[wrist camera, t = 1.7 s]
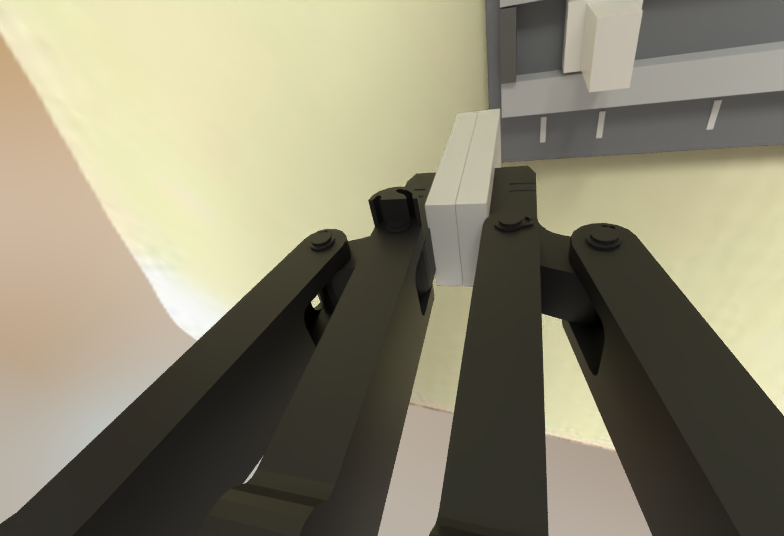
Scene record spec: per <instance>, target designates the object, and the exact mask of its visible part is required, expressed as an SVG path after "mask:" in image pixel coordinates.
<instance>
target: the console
mask: <svg viewBox="0 0 784 536" xmlns="http://www.w3.org/2000/svg"><path fill="white" fill-rule="evenodd" d="M642 11H643V13H642V19H641V25H640V31H639V37H638V42H637V48H636V54H635V60H634V65H633V71H632V77H631V83H630V88H625V89H615V90H606V91H597V92H589V91H588V88H587V85H586V83H585V80H584V77H583V74H582V71H577V72H569V73H563V69H562V55H563V40H564V26H565V12H566V0H486V28H487V56H488V84H489V110H491V109H500V131H501V162H513V161H528V160H544V159H559V158H575V157H591V156H606V155H622V154H637V153H653V152H669V151H684V150H700V149H715V148H731V147H747V146H762V145H778V144H784V0H643V4H642Z"/></svg>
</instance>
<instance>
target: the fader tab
mask: <svg viewBox="0 0 784 536" xmlns="http://www.w3.org/2000/svg"><path fill="white" fill-rule="evenodd" d="M642 4H643V0H566V12H565V26H564V40H563V55H562V69H563V73H569V72H577V71H582V74H583V77H584V80H585V83H586V85H587V88H588V91H589V92H597V91H606V90H615V89H625V88H630V83H631V77H632V71H633V65H634V60H635V54H636V48H637V42H638V37H639V31H640V25H641V19H642V13H643V11H642Z"/></svg>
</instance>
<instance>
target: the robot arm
mask: <svg viewBox="0 0 784 536" xmlns="http://www.w3.org/2000/svg"><path fill="white" fill-rule="evenodd" d="M368 201H369V205H370V209H371V213H372V217H373V220H374V224H375V228H374V230H373V232H372V234H371V236H369V237H365V238H362V239H357V240H352V241H348V240H347V237H346V235H345V234H344V233H343V231H340V230H337V229H325V230H320V231H318V232H316V233H314V234H311V235H310V236H308V237H307V238H306V239H304V240H303V241H302V242H301V243H300V244H299V245H298V246H297V247H296V248H295V249H294V250H293V251H292V252H291V253H289V254H288V255H287V256H286V257H285V258H284V259H283V260H282V261H281V262H280V263H279V264H278V265H277V266H276V267H275V268H274V269H273V270H272V271H271V272H269V273H268V274H267V275H266V276H265V277H264V278H263V279H262V280H261V281H260V282H259V283H258V284H257V285H256V286H255V287H254V288H253V289H252V290H251V291H249V292H248V293H247V294H246V295H245V296H244V297H243V298H242V299H241V300H240V301H239V302H238V303H237V304H236V305H235V306H234V307H233V308H232V309H231V310H229V311H228V312H227V313H226V314H225V315H224V316H223V317H222V318H221V319H220V320H219V321H218V322H217V323H216V324H215V325H214V326H213V327H212V328H211V329H209V330H208V331H207V332H206V333H205V334H204V335H203V336H202V337H201V338H200V339H199V340H198V341H197V342H196V343H195V344H194V345H193V346H192V347H191V348H189V350H187V351H186V352H185V353H184V354H183V355H182V356H181V357H180V358H179V359H178V360H177V361H176V362H175V363H174V364H173V365H172V366H170V367H169V368H168V369H167V370H166V371H165V373H163V374H162V375H161V376H160V377H159V378H158V379H157V380H156V381H155V382H154V383H153V384H152V385H150V387H148V388H147V390H145V391H144V392H143V393H142V394H141V395H140V396H139V397H138V398H137V399H136V400H135V401H134V402H133V403H132V404H130V405H129V406H128V407H127V408H126V409H125V410H124V411H123V412H122V413H121V414H120V415H119V416H118V417H117V418H116V419H115V420H114V421H113V422H112V423H111V424H109V425H108V426H107V427H106V428H105V429H104V430H103V431H102V432H101V433H100V434H99V435H98V436H97V437H96V438H95V439H94V440H93V441H92V442H90V443H89V444H88V445H87V446H86V447H85V448H84V449H83V450H82V451H81V452H80V453H79V454H78V455H77V456H76V457H75V458H74V459H73V460H72V461H70V463H68V464H67V465H66V466H65V467H64V468H63V469H62V470H61V471H60V472H59V473H58V474H57V475H56V476H55V477H54V478H53V479H52V480H50V481H49V482H48V483H47V485H45V486H44V487H43V488H42V489H41V490H40V491H39V492H38V493H37V494H36V495H35V496H34V497H33V498H32V499H30V500H29V502H27V503H26V504H25V505H24V506H23V507H22V508H21V509H20V510H19V511H18V512H17V513H15V514H14V515H12V516H11V517H10V518H8V519H7V520H6V521H4V522H2V523H1V524H0V536H377V535H378V531H379V527H380V523H381V519H382V514H383V510H384V506H385V502H386V498H387V494H388V489H389V485H390V481H391V477H392V473H393V468H394V464H395V460H396V455H397V452H398V447H399V443H400V439H401V435H402V431H403V426H404V422H405V418H406V414H407V410H408V406H409V401H410V397H411V393H412V389H413V385H414V380H415V376H416V372H417V368H418V364H419V359H420V355H421V351H422V347H423V343H424V339H425V334H426V330H427V326H428V322H429V318H430V313H431V309H432V305H433V301H434V290H433V284H432V283H433V279H434V275H435V274H436V281H437V285H439V286H472V287H473V292H472V298H471V305H470V311H469V318H468V324H467V331H466V338H465V344H464V351H463V357H462V364H461V370H460V377H459V383H458V390H457V397H456V403H455V410H454V417H453V423H452V429H451V436H450V443H449V449H448V456H447V463H446V469H445V475H444V482H443V488H442V495H441V502H440V508H439V513H438V518H437V521H436V524H435V526H434V528H433V529H432V531H431V532H430V535H429V536H548V512H547V477H546V446H545V412H544V379H543V347H542V314H546V315H549V316H552V317H556V318H559V319H562V325H563V328H564V330H565V332H566V335H567V337H568V339H569V342H570V344H571V346H572V349H573V351H574V353H575V356H576V358H577V360H578V363H579V365H580V367H581V370H582V372H583V374H584V377H585V379H586V381H587V384H588V386H589V388H590V391H591V393H592V395H593V398H594V400H595V402H596V405H597V407H598V409H599V412H600V414H601V416H602V419H603V421H604V423H605V426H606V428H607V430H608V433H609V435H610V437H611V440H612V442H613V445H614V447H615V449H616V452H617V454H618V456H619V458H620V461H621V463H622V466H623V468H624V470H625V473H626V475H627V477H628V479H629V482H630V484H631V487H632V489H633V491H634V493H635V496H636V498H637V500H638V503H639V505H640V508H641V510H642V512H643V514H644V517H645V519H646V522H647V524H648V526H649V528H650V531H651V533H652V536H784V416H783V414H782V413H781V412H780V411H779V410H778V408H777V407H776V406H775V405H774V403H773V402H772V401H771V400H770V399H769V397H768V396H767V395H766V394H765V392H764V391H763V390H762V389H761V388H760V386H759V385H758V384H757V383H756V381H755V380H754V379H753V378H752V377H751V375H750V374H749V373H748V372H747V370H746V369H745V368H744V367H743V366H742V364H741V363H740V362H739V361H738V360H737V358H736V357H735V356H734V355H733V353H732V352H731V351H730V350H729V349H728V347H727V346H726V345H725V344H724V342H723V341H722V340H721V339H720V338H719V336H718V335H717V334H716V333H715V331H714V330H713V329H712V328H711V327H710V325H709V324H708V323H707V322H706V320H705V319H704V318H703V317H702V316H701V314H700V313H699V312H698V311H697V309H696V308H695V307H694V306H693V305H692V303H691V302H690V301H689V300H688V299H687V297H686V296H685V295H684V294H683V292H682V291H681V290H680V289H679V288H678V286H677V285H676V284H675V283H674V281H673V280H672V279H671V278H670V277H669V275H668V274H667V273H666V272H665V270H664V269H663V268H662V267H661V266H660V264H659V263H658V262H657V261H656V259H655V258H654V257H653V256H652V255H651V253H650V252H649V251H648V250H647V248H646V247H645V246H644V245H643V244H642V242H641V241H640V240H639V239H638V238H637V236H636V235H635V234H633V233H632V232H631V231H630V230H628V229H626V228H623V227H621V226H618V225H613V224H607V223H595V224H589V225H585V226H581V227H580V228H578V229H577V230H575V231H574V232H573V234H572V236H571V237H570V236H564V235H560V234H556V233H553V232H550V231H548V230H546V229H545V228H543V227H542V226H541V225H540V224H539V222H538V219H537V201H536V173H535V172H534V171H533V170H532V169H531V168H530V167H529V166H518V167H502V168H501V131H500V109H491V110H482V111H479V112H478V111H472V112H463V113H458V114H457V116H456V119H455V122H454V125H453V128H452V130H451V133H450V136H449V139H448V142H447V144H446V147H445V150H444V153H443V156H442V158H441V161H440V164H439V167H438V170H437V172H436V173H421V174H416V175H415V176H413V177H412V178H411V179H410V180H409V181H407V184H406V186H405V187H393V188H388V189H385V190H382V191H379V192H378V193H376V194H374V195H373V196H372V197H371V198H370V199H369V200H368ZM317 295H318V297H319V299H320V303H319V304H318V306H316V307H315V308H313V307H312V304H311V301H312V300H313V299H314V298H315V297H316V296H317ZM541 313H542V314H541ZM263 455H264V456H263ZM262 457H263V458H262ZM261 458H262V460H261ZM260 460H261V462H260V464H259V466H258V468H257V470H256V472H255V473H254V475H253V477H252V478H251V479H250V480H249V481H248V482H247V483H245V484H243V483H244V482H245V480H246V479H247V477H248V476H249V474H250V473H251V472H252V471H253V469H254V468H255V466H256V465H257V464H258V462H259V461H260Z"/></svg>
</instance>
